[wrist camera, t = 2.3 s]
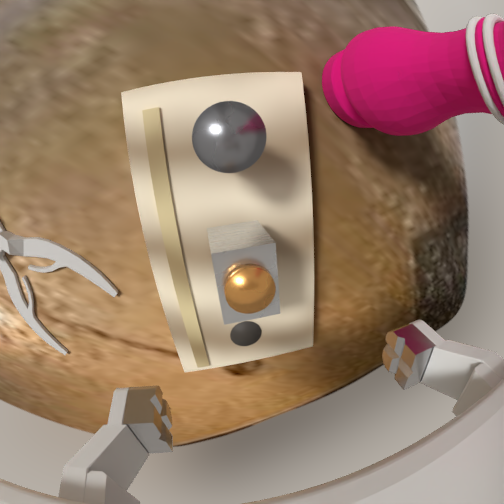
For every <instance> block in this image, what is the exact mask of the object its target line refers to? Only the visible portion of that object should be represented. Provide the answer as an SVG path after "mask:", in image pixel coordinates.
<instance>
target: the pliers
mask: <svg viewBox="0 0 504 504" xmlns="http://www.w3.org/2000/svg"><path fill="white" fill-rule="evenodd" d="M5 252H7V253H8V254H10V255H17V256H30V257H42V258H48V259H51V260H54V261H56V262H55V263H54V264H53V265H51V266H47V267H40V266H35V265H31V264H30V265H29V266H28V269H30V270H33V271H37V272H43V273H44V272H50V271H54V270H56V269H58V268H60V267H68V268H70V269H72V270H74V271H75V272H77V273H79V274H81V275H82V276H84V277H86V278H87V279H89V280H90V281H92V282H93V283H94V284H96V285H97V286H99V287H100V288H102V289H103V290H105V291H106V292H107V293H109V294H110V295H112V296H113V297H115V296H116V294H117V293H118V290H117V289H116V287H115V286H114V285H113V284H112V283H111V282H110V281H109V280H108V279H107V278H106V277H105V276H104V275H103V274H102V272H100V271H99V270H98V269H97V268H96V267H95V266H93V265H92V264H91V263H90V262H88V261H87V260H86V259H84V258H83V257H82V256H80V255H78V254H77V253H75V252H73V251H72V250H70V249H68V248H66V247H64V246H63V245H61V244H58V243H56V242H53V241H51V240H48V239H44V238H40V237H29V238H26V237H22V236H18V235H15V234H13V233H12V232H7V231H6V230H5V229H4V227H3V225H2V223H1V221H0V269H1V271H2V274H3V276H4V279H5V282H6V286H7V289H8V293H9V295H10V297H11V299H12V301H13V303H14V305H15V306H16V308H17V310H18V311H19V313H20V314H21V316H22V317H23V318H24V320H25V321H26V322H27V323H28V325H29V326H30V327H31V328H32V329H33V330H34V331H35V332H36V333H37V334H38V335H39V336H40V337H41V338H42V339H43V340H44V341H46V342H47V343H48V344H49V345H51V346H52V347H54V348H55V349H56V350H58V351H60V352H61V353H63V354H64V355H65V354H66V353H67V352H68V349H66V348H65V347H64V346H63V345H62V344H61V343H60V342H58V341H57V340H56V339H55V338H54V337H53V336H52V335H51V334H50V333H49V332H48V331H47V330H46V328H45V327H44V326H43V325H42V324H41V322H40V321H39V320H38V319H37V317H36V316H35V313H34V298H33V292H32V290H31V287H30V284H29V282H28V279H27V277H26V276H24V277H23V278H22V279H23V282H24V284H25V286H26V289H27V292H28V297H29V306H28V304H27V302H26V301H25V299H24V296H23V293H22V291H21V288H20V285H19V281H18V278H17V274H16V272H15V270H14V269H13V267H12V266H11V264H10V263H9V261H8V259H7V258H6V256H5Z"/></svg>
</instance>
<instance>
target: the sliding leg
mask: <svg viewBox="0 0 504 504" xmlns="http://www.w3.org/2000/svg"><path fill="white" fill-rule="evenodd" d="M207 233H208V239H209V245H210V251H211V257H212V263H213V268H214V274H215V280H216V285H217V291H218V296H219V301H220V306H221V311H222V317H223V322H224V325H226V324H231V323H237V322H242V321H247V320H252V319H257V318H262V317H267V316H271V315H276V314H280V298H279V283H278V269H277V255H276V243H275V241H274V240H273V239H272V238H271V236H270V235H269V234H268V233H267V232H266V230H265V229H264V228H263V227H262V225H261V224H260V223H259V222H258V221H257V220H254V221H248V222H242V223H235V224H229V225H223V226H217V227H211V228H207Z"/></svg>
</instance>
